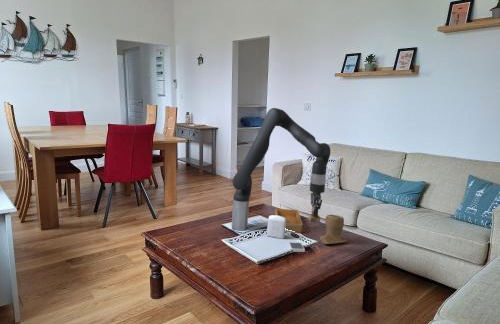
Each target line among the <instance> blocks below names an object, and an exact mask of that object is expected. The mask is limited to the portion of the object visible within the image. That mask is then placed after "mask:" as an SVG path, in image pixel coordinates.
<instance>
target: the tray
mask: <svg viewBox="0 0 500 324" xmlns="http://www.w3.org/2000/svg"><path fill="white" fill-rule="evenodd" d="M274 215H277V216H281V217H284V218H286V229H288V230H292V231H295V232H294V233H296V232H298V233H299V234H303V229H304V223H303V221H302V218H301V216H300V212H299V209H287V208H286V209H285V208H275V210H274ZM298 233H297V234H298Z"/></svg>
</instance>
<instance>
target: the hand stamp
mask: <svg viewBox="0 0 500 324" xmlns="http://www.w3.org/2000/svg"><path fill="white" fill-rule="evenodd" d="M317 207H318V206H317ZM313 212H314V206H313V207H312V206H311V214H308V216H307V219H308V221H309V222H310V223H321V217H320V215H319V214H318V216H313Z"/></svg>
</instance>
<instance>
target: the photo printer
mask: <svg viewBox="0 0 500 324" xmlns="http://www.w3.org/2000/svg"><path fill="white" fill-rule="evenodd" d="M285 228H286V218H284V217H281V216H277V215H275V214H272V215H269V216H268V220H267V228H266V229H267V230H266V236H267V237H271V238H276V239H280V240H281V239H283V238H284V239H285V237H286V236H285V235H286V232H285ZM284 239H283V240H284Z"/></svg>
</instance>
